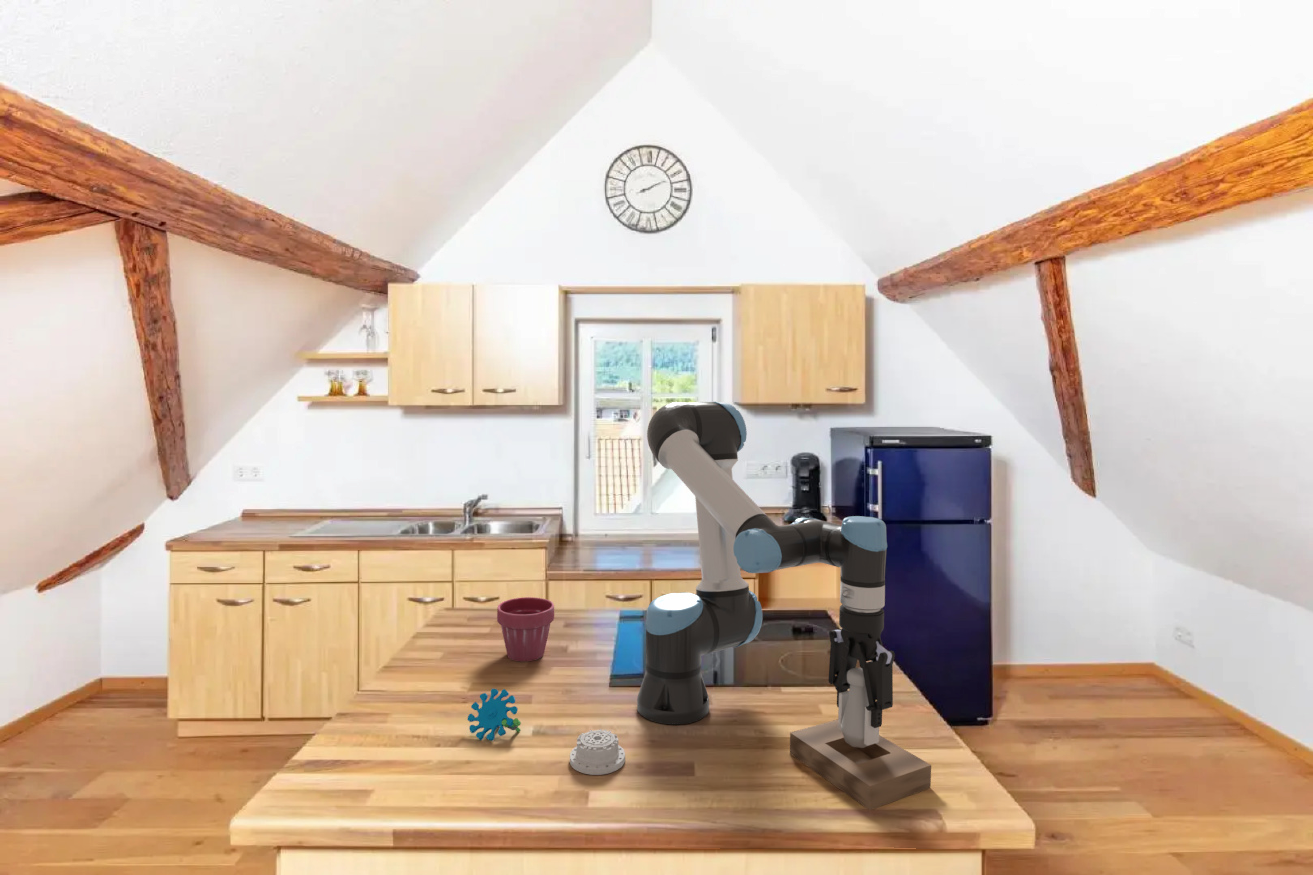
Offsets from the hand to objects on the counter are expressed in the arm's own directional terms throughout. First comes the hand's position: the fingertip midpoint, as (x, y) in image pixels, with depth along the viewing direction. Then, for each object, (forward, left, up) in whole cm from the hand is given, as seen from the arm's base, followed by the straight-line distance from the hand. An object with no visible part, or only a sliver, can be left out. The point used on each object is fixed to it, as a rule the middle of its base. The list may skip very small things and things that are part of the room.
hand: (857, 734), depth 125 cm
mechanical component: (-24, -40, -7) cm, 47 cm away
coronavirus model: (-43, -53, -7) cm, 68 cm away
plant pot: (-79, -35, -7) cm, 87 cm away
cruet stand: (0, 0, -6) cm, 6 cm away
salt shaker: (0, 0, -2) cm, 2 cm away
